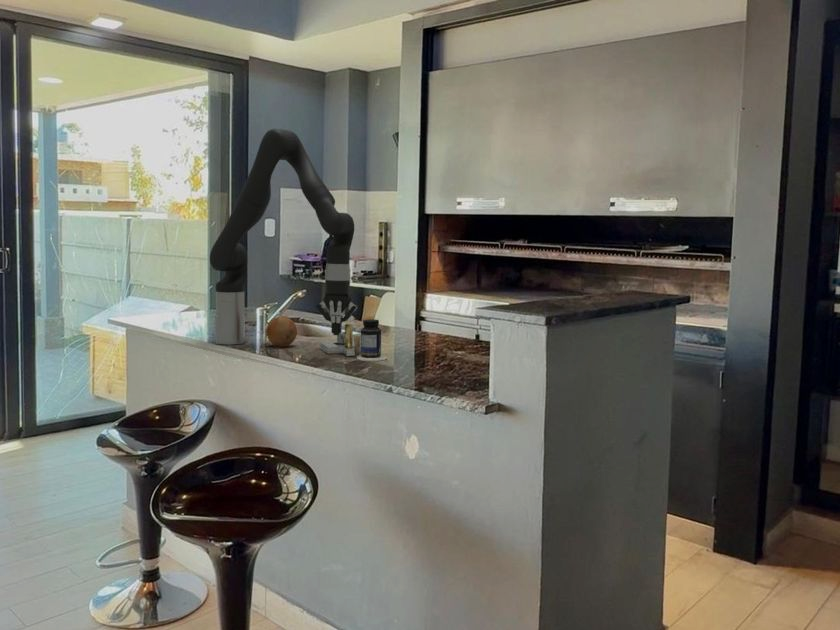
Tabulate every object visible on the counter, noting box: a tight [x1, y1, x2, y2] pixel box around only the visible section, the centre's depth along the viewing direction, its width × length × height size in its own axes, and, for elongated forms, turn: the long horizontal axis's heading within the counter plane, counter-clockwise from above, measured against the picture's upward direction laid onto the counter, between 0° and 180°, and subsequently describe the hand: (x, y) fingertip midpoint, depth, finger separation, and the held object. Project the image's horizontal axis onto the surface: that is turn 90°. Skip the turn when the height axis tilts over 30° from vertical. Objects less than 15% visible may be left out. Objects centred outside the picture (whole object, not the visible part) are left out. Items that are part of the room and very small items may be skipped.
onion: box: [266, 315, 298, 348], centre depth 251 cm, size 10×10×10 cm
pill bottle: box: [360, 318, 382, 358], centre depth 230 cm, size 6×6×11 cm
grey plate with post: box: [319, 323, 361, 357], centre depth 241 cm, size 18×12×9 cm
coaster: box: [356, 354, 388, 362], centre depth 231 cm, size 9×9×1 cm
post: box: [336, 331, 345, 345], centre depth 244 cm, size 3×3×6 cm
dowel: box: [353, 335, 361, 357], centre depth 235 cm, size 2×2×6 cm
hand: (336, 334), depth 236 cm, fingers closed
